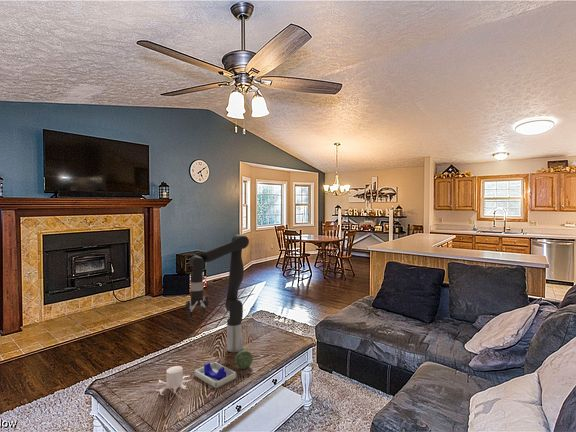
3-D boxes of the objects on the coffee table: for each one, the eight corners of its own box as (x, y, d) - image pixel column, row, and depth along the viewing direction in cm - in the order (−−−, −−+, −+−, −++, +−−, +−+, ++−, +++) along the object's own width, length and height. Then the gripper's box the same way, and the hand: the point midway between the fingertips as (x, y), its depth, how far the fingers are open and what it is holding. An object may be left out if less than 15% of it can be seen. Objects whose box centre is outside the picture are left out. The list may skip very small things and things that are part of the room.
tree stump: (198, 375, 176) (198, 361, 176) (185, 396, 156) (185, 379, 156) (164, 374, 177) (163, 360, 177) (146, 394, 157) (146, 378, 157)
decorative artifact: (251, 365, 187) (251, 348, 186) (254, 370, 180) (254, 353, 180) (234, 368, 183) (234, 351, 183) (237, 374, 176) (237, 356, 176)
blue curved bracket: (226, 377, 172) (226, 366, 172) (220, 381, 168) (220, 369, 168) (210, 371, 178) (210, 361, 178) (204, 375, 174) (204, 364, 174)
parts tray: (215, 366, 185) (215, 361, 185) (236, 378, 172) (236, 372, 172) (194, 375, 175) (194, 370, 175) (215, 388, 162) (215, 383, 162)
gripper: (203, 285, 199) (203, 311, 199) (182, 290, 188) (183, 317, 188) (210, 287, 194) (210, 313, 194) (189, 292, 183) (190, 320, 183)
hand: (197, 315), depth 191 cm, fingers open, 8 cm apart
